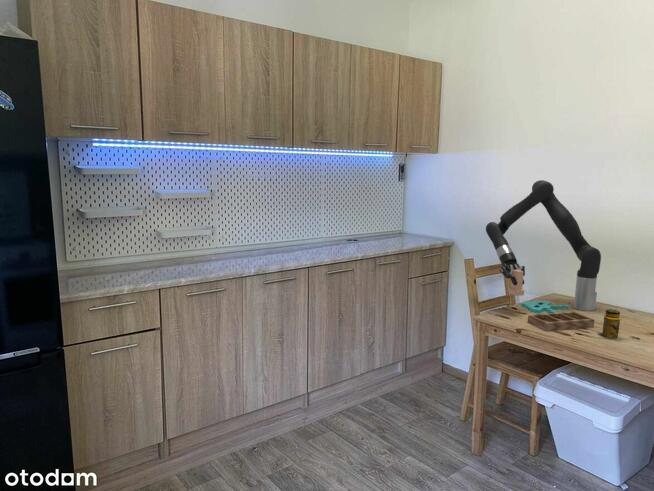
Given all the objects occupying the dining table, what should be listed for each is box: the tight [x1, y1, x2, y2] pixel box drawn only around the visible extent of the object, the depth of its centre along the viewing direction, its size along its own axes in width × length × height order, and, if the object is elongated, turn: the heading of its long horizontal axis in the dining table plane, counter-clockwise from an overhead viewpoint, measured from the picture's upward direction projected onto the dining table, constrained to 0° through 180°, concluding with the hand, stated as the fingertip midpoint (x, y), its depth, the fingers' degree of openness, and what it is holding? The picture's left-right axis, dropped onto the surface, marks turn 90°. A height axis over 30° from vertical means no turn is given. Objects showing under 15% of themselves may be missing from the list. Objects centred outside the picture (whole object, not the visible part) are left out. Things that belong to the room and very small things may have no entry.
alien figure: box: [521, 300, 570, 314], centre depth 251 cm, size 20×2×20 cm
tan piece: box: [508, 270, 525, 297], centre depth 239 cm, size 6×4×12 cm
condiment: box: [596, 308, 621, 341], centre depth 210 cm, size 7×8×12 cm
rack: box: [527, 311, 595, 332], centre depth 226 cm, size 26×13×4 cm, turn 105°
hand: (519, 284), depth 237 cm, fingers closed on tan piece, 3 cm apart
